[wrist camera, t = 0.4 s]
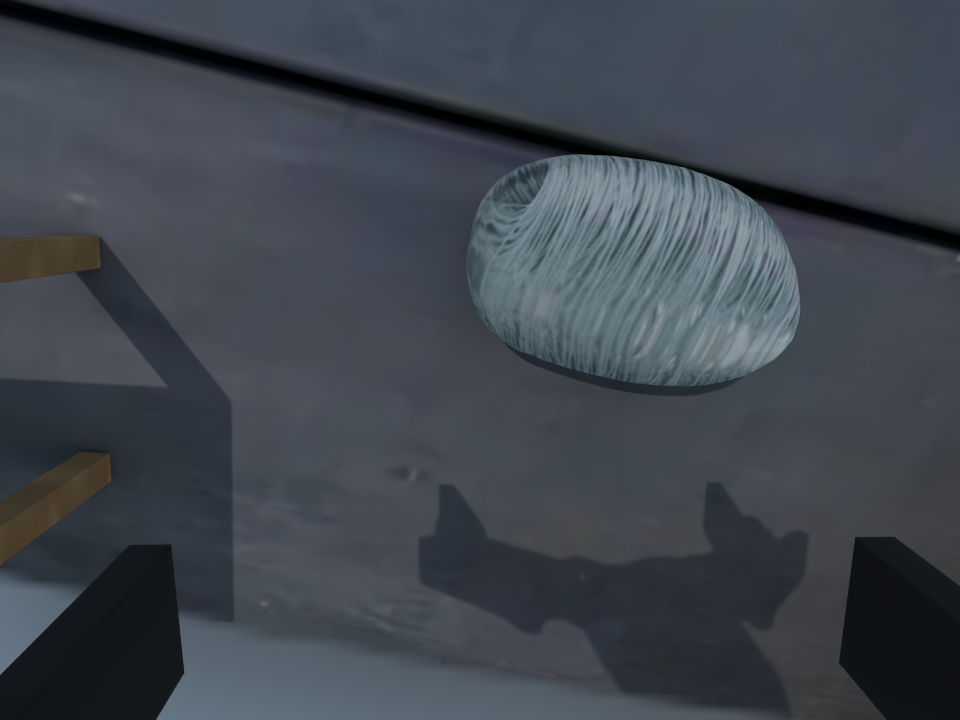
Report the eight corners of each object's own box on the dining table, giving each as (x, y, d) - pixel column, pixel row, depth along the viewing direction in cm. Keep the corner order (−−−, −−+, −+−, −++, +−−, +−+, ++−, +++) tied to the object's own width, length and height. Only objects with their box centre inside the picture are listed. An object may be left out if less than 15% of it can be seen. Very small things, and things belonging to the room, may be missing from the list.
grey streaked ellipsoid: (431, 286, 33) (468, 438, 26) (470, 89, 27) (533, 213, 20) (677, 303, 37) (770, 438, 29) (759, 134, 31) (901, 250, 24)
